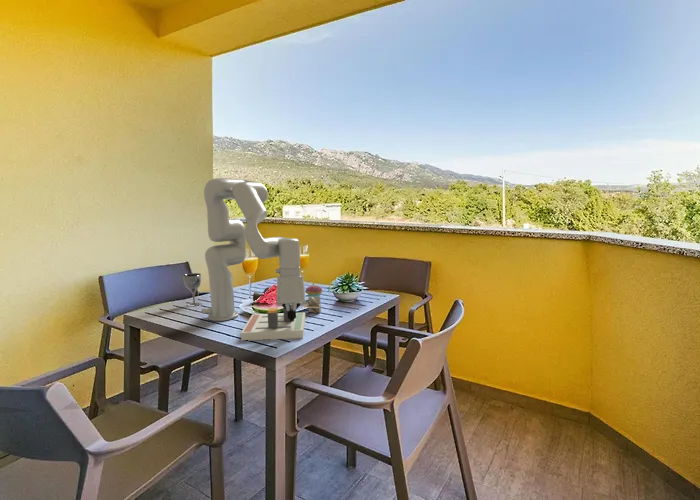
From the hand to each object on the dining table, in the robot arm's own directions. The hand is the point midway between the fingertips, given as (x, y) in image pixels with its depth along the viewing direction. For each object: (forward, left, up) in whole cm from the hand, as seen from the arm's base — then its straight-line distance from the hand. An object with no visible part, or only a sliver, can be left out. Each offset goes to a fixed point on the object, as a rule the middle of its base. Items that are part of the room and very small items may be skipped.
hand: (292, 320), depth 138 cm
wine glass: (-52, +49, -6) cm, 72 cm away
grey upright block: (-7, 0, -2) cm, 7 cm away
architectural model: (+8, +27, -6) cm, 29 cm away
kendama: (-18, +51, -6) cm, 55 cm away
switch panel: (-7, +7, -6) cm, 11 cm away
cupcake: (+7, +50, -6) cm, 51 cm away
